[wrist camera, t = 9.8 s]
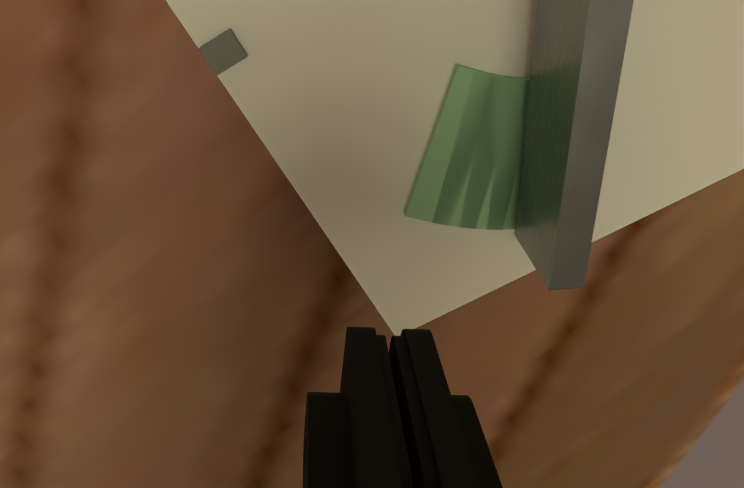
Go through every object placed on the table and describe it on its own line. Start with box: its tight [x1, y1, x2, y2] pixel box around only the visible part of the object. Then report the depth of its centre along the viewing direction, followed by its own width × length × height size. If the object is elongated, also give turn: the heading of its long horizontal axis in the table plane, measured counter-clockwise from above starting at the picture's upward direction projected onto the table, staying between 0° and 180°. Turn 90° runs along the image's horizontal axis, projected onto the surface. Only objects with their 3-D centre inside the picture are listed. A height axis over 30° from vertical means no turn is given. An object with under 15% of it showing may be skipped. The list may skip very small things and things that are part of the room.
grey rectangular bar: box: [514, 0, 634, 290], centre depth 18 cm, size 15×3×4 cm, turn 2°
